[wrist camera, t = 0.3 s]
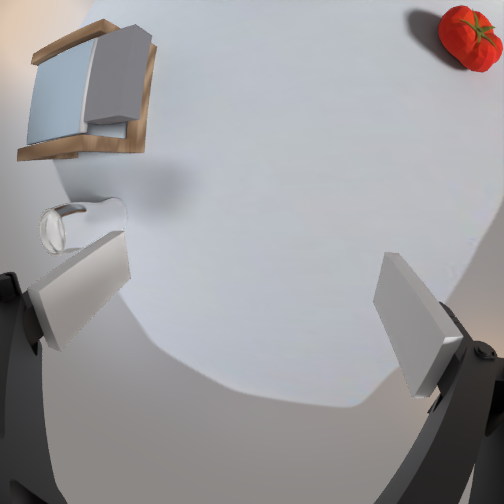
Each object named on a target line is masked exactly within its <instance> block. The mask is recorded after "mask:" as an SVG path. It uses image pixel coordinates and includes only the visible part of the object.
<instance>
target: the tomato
mask: <svg viewBox="0 0 504 504" xmlns="http://www.w3.org/2000/svg"><path fill="white" fill-rule="evenodd" d="M493 28H496V27H493V26H492V25H491V24H490V22H489V21H488V19H487V18H486V17H485V16H484V15H483V14H481V13H480V12H477V11H472V10H471V9H469V8H468V7H467V6H462V5H461V6H456V7H453V8H451V9H450V10H449V11H447V12H446V13H445V14H444V15H443V16H442V19H441V21H440V24H439V26H438V32H439V38H440V40H441V42H442V44H443V46H444V47H445V48H446V49H447V50H448V51H449V52H450V53H451V54H452V55H453V56H454V57H456V58H457V59H458V60H459V61H460V62H461V63H462V64H463V65H464V66H465V67H466V68H468V69H470V70H471V71H476V72H485V71H487V70H488V69H489V68H490V67H491V66H492V64H494V63H496V62H497V61H498V60H499V58H500V56H501V54H502V50H503V45H502V42H501V40H500V38H498V37H497V36H496V35H494V33H493Z"/></svg>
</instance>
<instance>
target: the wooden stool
mask: <svg viewBox="0 0 504 504" xmlns="http://www.w3.org/2000/svg"><path fill="white" fill-rule="evenodd" d="M119 29H121V28H119V27H117V26H116V25H114V24H112V23H111V22H109V21H107V20H105V19H102V20H99V21H97V22H94V23H92V24H90V25H87V26H85V27H83V28H81V29H79V30H77V31H75V32H73V33H71V34H69V35H66V36H65V37H63V38H61V39H59V40H57V41H55V42H53V43H51V44H49V45H48V46H46V47H44V48H42V49H41V50H39V51H37V52H36V53H34V54H33V57H32V61H31V64H33V65H37V66H39V65H40V64H41V63H43V62H45V61H47V60H49V59H51V58H53V57H55V56H57V55H58V54H60V53H62V52H64V51H66V50H68V49H70V48H72V47H75V46H77V45H79V44H81V43H84V42H86V41H89V40H91V39H94V38H96V37H97V38H98V37H100V36H102V35H105V34H108V33H110V32H113V31H116V30H119ZM156 49H157V46H155V45H154V44H152V43H151V44H150V49H149V55H148V60H147V66H146V72H145V79H144V86H143V94H142V102H141V111H140V120H134V121H128V125H127V136H126V139H122V138H113V137H104V136H94V135H77V136H76V135H72V136H67V137H62V138H60V139H57V140H52V141H48V142H44V143H39V144H36V145H31V146H28V147H24V148H20V149H18V154H17V161H29V160H45V159H72V158H78V152H110V153H144V149H145V135H146V123H147V113H148V104H149V95H150V87H151V80H152V73H153V67H154V60H155V55H156Z"/></svg>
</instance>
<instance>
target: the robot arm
mask: <svg viewBox="0 0 504 504" xmlns="http://www.w3.org/2000/svg"><path fill="white" fill-rule="evenodd" d="M130 279H131V276H130V269H129V262H128V255H127V247H126V239H125V231H112V232H110V233H108V234H107V235H105V236H103V237H102V238H100V239H99V240H97V241H95V242H94V243H92V244H91V245H89V246H88V247H86V248H84V249H83V250H81V251H80V252H78V253H77V254H75V255H74V256H72V257H71V258H69V259H68V260H66V261H65V262H63V263H62V264H60V265H59V266H58V267H56V268H55V269H53V270H52V271H50V272H49V273H48V274H46V275H45V276H43V277H42V278H41V279H39V280H38V281H36V282H35V283H34V284H32V285H31V286H30V287H28V288H27V291H26V292H24V293H23V294H22V292H21V289H20V285H19V282H18V279H17V275H16V274H15V273H14V272H7V273H3V274H1V275H0V504H67V502H66V500H65V498H64V497H63V495H62V494H61V492H60V491H59V490H58V488H57V486H56V483H55V479H54V475H53V470H52V465H51V461H50V455H49V449H48V443H47V436H46V428H45V419H44V408H43V393H42V345H41V342H40V340H39V339H40V338H41V337H42V336H43V335H44V337H45V339H46V342H47V344H48V346H49V347H50V348H53V349H55V350H58V351H62V350H63V349H64V348H65V346H66V345H67V344H68V343H69V342H70V341H71V340H72V339H73V338H74V336H75V335H76V334H77V333H78V332H79V331H80V330H81V329H82V328H83V327H84V325H86V324H87V322H88V321H89V320H90V319H91V318H92V317H93V316H94V315H95V314H96V313H97V312H98V311H99V310H100V309H101V308H102V307H103V306H104V305H105V304H106V303H107V302H108V301H109V300H110V299H111V297H112V296H114V295H115V293H117V292H118V290H119V289H120V288H121V287H123V286H124V285H125V284H126V283H127V282H128V281H129V280H130ZM373 303H374V305H375V307H376V309H377V311H378V314H379V316H380V318H381V320H382V323H383V325H384V327H385V330H386V332H387V334H388V337H389V339H390V342H391V344H392V346H393V349H394V351H395V354H396V356H397V359H398V361H399V364H400V367H401V369H402V372H403V374H404V377H405V380H406V382H407V385H408V388H409V391H410V393H411V397H412V399H417V398H425V397H430V395H431V394H432V393H433V391H434V389H435V388H436V386H437V385H438V388H439V390H440V392H441V393H440V394H439V396H438V398H437V399H436V400H435V402H434V403H433V405H432V406H431V408H430V409H429V411H428V412H427V413H429V416H428V418H427V420H426V422H425V424H424V426H423V428H422V430H421V432H420V433H419V435H418V437H417V439H416V441H415V443H414V444H413V446H412V448H411V450H410V451H409V453H408V455H407V456H406V458H405V459H404V461H403V463H402V464H401V466H400V467H399V469H398V470H397V472H396V474H395V475H394V477H393V478H392V479H391V481H390V482H389V484H388V485H387V487H386V488H385V490H384V491H383V492H382V493H381V495H380V496H379V498H378V499H377V500H376V502H375V503H374V504H458V503H459V501H460V499H461V496H462V494H463V492H464V489H465V487H466V485H467V482H468V480H469V477H470V474H471V472H472V469H473V466H474V464H475V467H474V475H473V482H472V488H471V493H470V499H469V503H468V504H504V358H499V357H497V354H496V352H495V350H494V349H493V348H492V347H491V346H490V345H488V344H486V343H484V342H481V341H473V340H472V338H471V337H470V335H469V334H468V332H467V331H466V330H465V328H464V327H463V326H462V324H461V323H460V322H459V320H458V319H457V317H455V315H454V314H453V312H452V311H451V310H450V308H448V307H447V306H446V305H444V304H443V303H442V302H438V301H437V299H436V298H435V297H434V295H433V294H432V293H431V292H430V290H429V289H428V288H427V287H426V285H425V284H424V283H423V282H422V280H421V279H420V278H419V277H418V276H417V274H416V273H415V272H414V271H413V269H412V268H411V267H410V266H409V265H408V264H407V262H406V261H405V260H404V259H403V258H402V257H401V255H400V254H399V253H390V252H385V254H384V259H383V263H382V267H381V272H380V276H379V280H378V284H377V288H376V292H375V296H374V299H373Z"/></svg>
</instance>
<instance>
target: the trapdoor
mask: <svg viewBox="0 0 504 504" xmlns="http://www.w3.org/2000/svg"><path fill="white" fill-rule="evenodd" d="M151 39H152V35H150V34H149V33H148V32H146V31H145V30H143V29H142V28H140V27H139V26H137V25H136V24H135V25H132V26H129V27H125V28H122V29H119V30H116V31H113V32H110V33H108V34H105V35H102V36H100V37H98V38H95V39H93V40H90V41H88V42H85V43H83V44H81V45H78V46H76V47H74V48H72V49H69V50H67V51H65V52H63V53H61V54H59V55H57V56H55V57H53V58H51V59H49V60H47V61H45V62H43V63H41V64H40V65H39V66H38V71H37V75H36V80H35V85H34V91H33V96H32V102H31V108H30V116H29V124H28V134H27V145H32V144H36V143H40V142H44V141H48V140H53V139H57V138H62V137H67V136H72V135H77V134H82V133H87V127H88V123H95V124H102V125H105V124H112V123H119V122H126V121H134V120H140V111H141V102H142V94H143V86H144V79H145V72H146V66H147V60H148V55H149V49H150V44H151Z"/></svg>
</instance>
